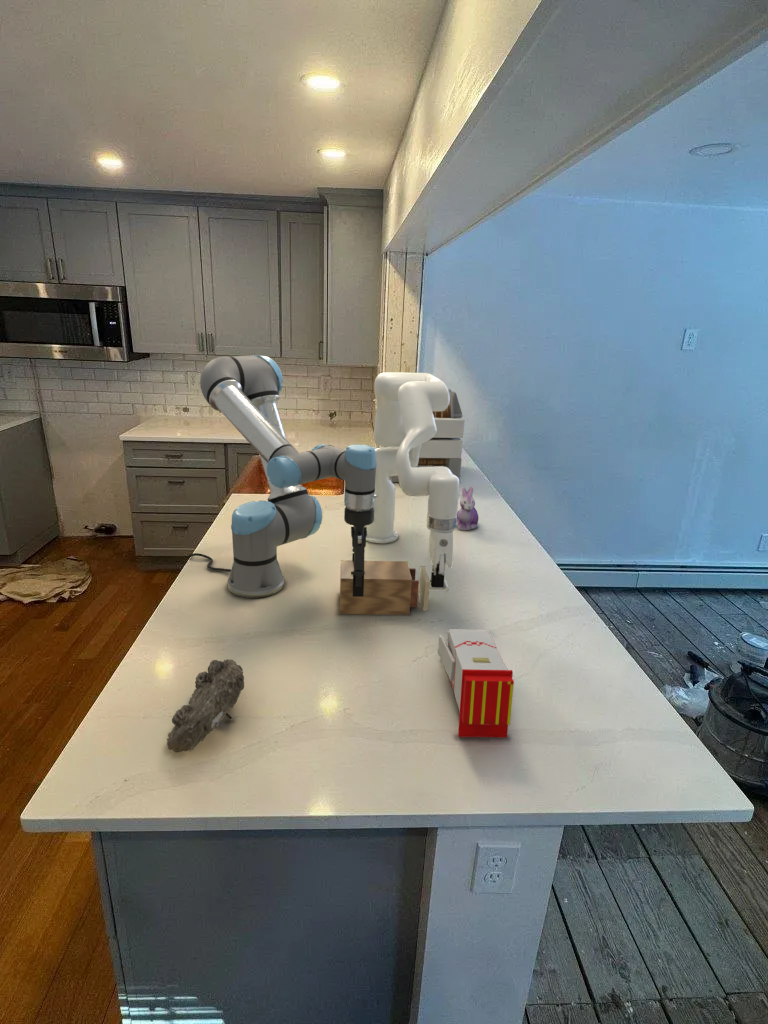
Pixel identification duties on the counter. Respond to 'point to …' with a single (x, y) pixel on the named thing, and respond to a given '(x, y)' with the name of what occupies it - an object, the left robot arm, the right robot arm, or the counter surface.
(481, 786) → the counter surface
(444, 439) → the grey storage bin
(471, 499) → the figurine
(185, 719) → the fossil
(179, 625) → the counter surface
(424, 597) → the drawer
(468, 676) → the toy
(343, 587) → the cabinet
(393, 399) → the right robot arm
